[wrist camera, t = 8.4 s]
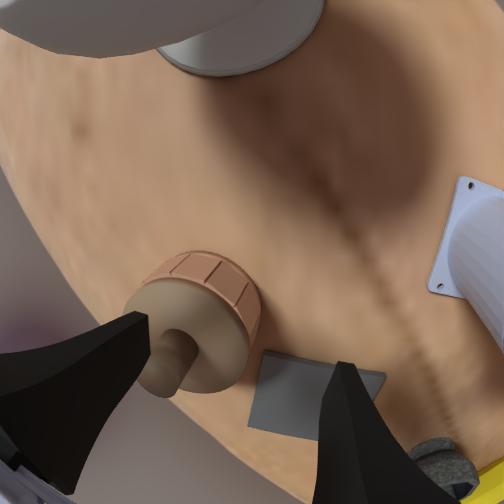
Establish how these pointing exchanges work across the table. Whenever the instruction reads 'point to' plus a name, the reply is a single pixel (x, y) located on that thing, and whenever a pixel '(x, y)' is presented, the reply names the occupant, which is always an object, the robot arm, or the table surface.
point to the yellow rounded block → (489, 485)
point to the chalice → (168, 29)
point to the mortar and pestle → (446, 467)
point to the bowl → (217, 283)
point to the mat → (296, 394)
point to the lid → (189, 338)
